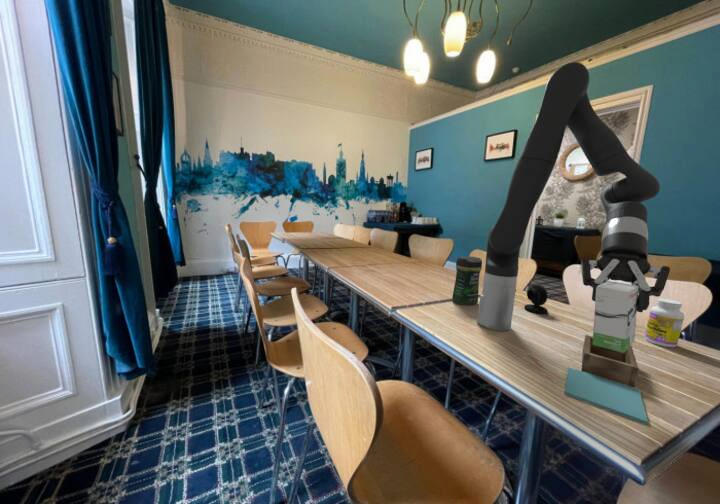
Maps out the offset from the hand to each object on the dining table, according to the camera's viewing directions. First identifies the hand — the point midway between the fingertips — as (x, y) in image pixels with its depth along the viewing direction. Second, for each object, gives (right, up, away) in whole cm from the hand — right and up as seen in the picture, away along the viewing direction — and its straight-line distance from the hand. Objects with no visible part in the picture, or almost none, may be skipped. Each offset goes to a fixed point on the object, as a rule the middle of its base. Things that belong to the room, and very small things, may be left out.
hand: (618, 305), depth 55 cm
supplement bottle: (+37, -16, +27) cm, 48 cm away
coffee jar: (-9, -10, +56) cm, 58 cm away
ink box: (-1, -8, 0) cm, 8 cm away
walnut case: (+8, -17, +12) cm, 23 cm away
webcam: (+15, -12, +50) cm, 53 cm away
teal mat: (-1, -19, +2) cm, 19 cm away
